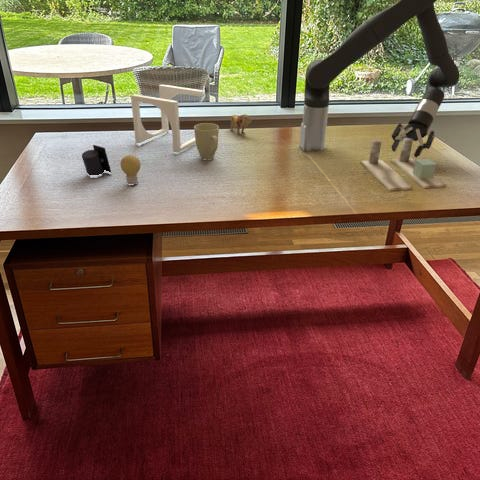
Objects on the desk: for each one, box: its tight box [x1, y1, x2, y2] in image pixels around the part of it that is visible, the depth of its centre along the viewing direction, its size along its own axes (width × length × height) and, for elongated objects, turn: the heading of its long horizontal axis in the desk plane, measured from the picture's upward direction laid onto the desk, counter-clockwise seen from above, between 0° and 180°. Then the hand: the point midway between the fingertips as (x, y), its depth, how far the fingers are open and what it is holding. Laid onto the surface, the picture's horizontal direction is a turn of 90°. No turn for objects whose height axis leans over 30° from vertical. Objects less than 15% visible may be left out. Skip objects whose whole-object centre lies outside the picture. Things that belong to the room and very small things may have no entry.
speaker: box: [81, 144, 112, 175], centre depth 167 cm, size 8×6×10 cm
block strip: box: [391, 138, 447, 189], centre depth 169 cm, size 8×24×9 cm, turn 10°
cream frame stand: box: [130, 84, 205, 153], centre depth 193 cm, size 20×20×20 cm
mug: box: [193, 122, 220, 161], centre depth 180 cm, size 11×10×12 cm
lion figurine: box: [228, 113, 252, 136], centre depth 208 cm, size 15×5×9 cm, turn 36°
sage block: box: [413, 158, 438, 179], centre depth 166 cm, size 5×5×5 cm
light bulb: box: [120, 154, 142, 185], centre depth 160 cm, size 6×6×10 cm
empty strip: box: [360, 139, 413, 192], centre depth 167 cm, size 8×24×9 cm, turn 10°
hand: (404, 153), depth 177 cm, fingers open, 8 cm apart
